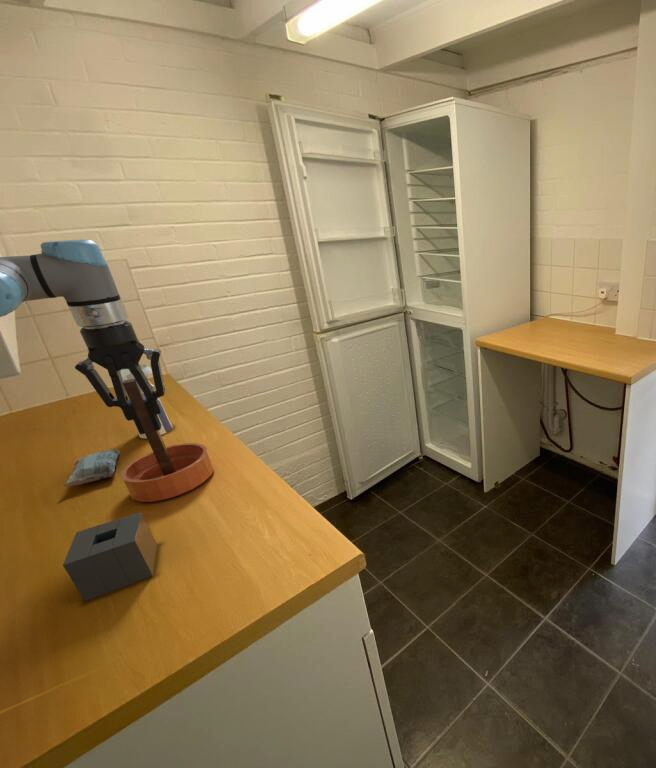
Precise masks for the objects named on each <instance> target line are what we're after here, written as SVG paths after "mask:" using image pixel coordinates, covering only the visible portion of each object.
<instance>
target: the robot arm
mask: <svg viewBox="0 0 656 768" xmlns="http://www.w3.org/2000/svg"><path fill="white" fill-rule="evenodd" d="M40 249H41V250H40V253H36V254H31V255H30V254H29V255H14V256H13V255H12V256H0V318H2V317H5V316H8V315H9V314H11V313H13V312H14V311H16V310H17V309H18V308H19V306H20V305H21V304H22V303H24V302H29V301H30V302H31V301H38V300H46V299H55V298H61V297H62V298H63V299H64V300H65V303H66V305H67V307H68V310H69V312H70V313H71V316H72V318H73V320H74V322H75V324H76V326H77V327H80V330H79V333H80V335H81V337H82V339H83V341H84V343H85V346H86V348H87V350H88V352H87V358H85V359H84V360H80V361H78V362H77V363H76V364H75V366H74V369H75V370H76V371H78V372H79V373H81V374H82V375H84V376H85V377H86V380H87V381H88V382H89V383H90V385H91V386H92V388H93V389H94V391H95V392H96V393H97V395H98V396H99V397H100V399H101V400H102V401H103V403H104V405H105V406H106V407H107V408H113V407H118V408H120V409H121V411H122V413H123V416H124V418H125V420H127V421H128V422H130V421H133V420H134V421H133V423H134V422H135V424H134V426H135V425H136V427H137V429H138V431H139V433H140V435H141V434H145V432H144V430H143V428H142V426H141V423H140V421H139V419H138V417H137V414H136V412H135V410H134V408H133V406H132V403H129V399H128V396H127V393H126V390H125V388H124V385H123V379H122V376H121V371H120V370H122V369H129V371H130V372H131V373H132V374H133V376H134V378H135V379H136V381H137V383H138V385H139V386H140V388H141V390H142V391H143V393H144V395H145V397H146V398H147V399H146V401H145V403H144V404H145V407H146V409H147V411H148V413H149V416H150V418H151V420H152V423H153V425H154V427H155V430H156V431H157V430H160V429H161V422H160V420H159V418H158V415H157V414H160V413H161V407H160V405H159V402H158V400H157V398H159V399H160V398H161V397H164V396H165V393H166V387H165V383H164V378H163V372H162V368H161V363H160V357H161V354H162V350H161V349H160V348H155V349H153V348H147V347H145V346H144V344H142V343H141V342H140V341H139V339H138V336H137V333H136V331H135V329H134V328H133V324H132V322H130V321H129V320H128V319H129V318H130V317H129V314H128V312H127V310H126V307H125V305H124V302H123V300H122V297H121V296H120V293H119V291H118V288H117V285H116V283H115V279H114V278H113V275H112V272H111V269H110V267H109V264H108V263H107V261H106V259H105V257H104V255H103V253H102V250H101V248H100V246H99V245H98V244H97V242H94V241H93V240H91V239H65V240H54V241H53V240H52V241H51V240H50V241H43V242H41V244H40ZM143 355H145V356H146V359H147V360H150V368H151V369H152V374H151V375H152V378H153V383H154V388H155V389H154V388H153V389H154V390H153V389H152V387H151V385H150V383H151V382H150V381H149V382H150V383H149V382H148V380H149V379H148V380H147V378H146V376H145V375H144V373H143V371H142V369H141V367H140V365H141V364H140V360H141V359H142V357H143ZM95 364H96V365H98V366H100V367H101V368H104V370H107V372H108V373H107V374H108V376H109V377H110V380H111V383H112V387H113V390H114V393H115V395H114V394H113V393H112V391H111V390H110V388H109V387H108V385H107V384H106V383H105V381H104V379H103V378H102V377H101V375H100V374H99V372H98V370H96V369H95V368H96V365H95ZM136 427H135V428H136ZM137 429H136V430H137Z"/></svg>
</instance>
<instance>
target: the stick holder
mask: <svg viewBox="0 0 656 768" xmlns="http://www.w3.org/2000/svg"><path fill="white" fill-rule="evenodd" d="M70 544H71V545H70V546H69V549H68V552H67V553H66V556H65V559H64V561H63V563H62V567H63V569H64V570H65V572H66V573H67V575H68V576H69V578H70V579H71V581H72V583H73V584H74V586H75V588H76V589H77V591H78V592H79V594H80V596H81V597H82V599H83V600H84V602H87V601H90V600H93V599H96V598H98V597H100V596H104V595H105V594H108V593H111V592H113V591H117V590H119V589H123V588H125V587H127V586H130V585H132V584H135V583H138V582H141V581H142V580H146V579H148V578H151V577H153V575H154V569H155V563H156V557H157V551H158V543H157V541H156V539H155V537H154V535H153V533H152V531H151V528H150V527H149V524H148V523H147V520H146V519H145V516H144V514H143V512H142V511H140V512H137V513H132V514H130V515H127V516H124V517H120V518H117V519H114V520H111V521H108V522H104V523H101V524H98V525H93V526H92V527H88V528H85V529H82V530H78V531H76V532H75V534H74V537H73V539H72V542H71V543H70Z"/></svg>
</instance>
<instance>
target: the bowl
mask: <svg viewBox="0 0 656 768" xmlns="http://www.w3.org/2000/svg"><path fill="white" fill-rule="evenodd" d="M166 448H167V451H168V453H169V455H170V458H171V460H172V462H173V465H174V467H175V469H176V472H174V473H172V474H169V475H166V476H164V475H163V473H162V471H161V468H160V466H159V464H158V462H157V460H156V457H155V455H154V453H153V451H150V452H148V453H146V454H144V455H142V456H139V457H138V458H136V459H135V460H132V461H131V462H130V463H128V464H127V465H126V466H125V467H124V468H123V469H122V471H121V474H120V478H121V480H122V482H123V484H124V487H125V489H126V490H127V492H128V494H129V497H130V498H131V499H132V500H133V501H137V502H139V503H153V502H158V501H164V500H168V499H171V498H174V497H177V496H180V495H183V494H185V493H187V492H189V491H192V490H193V489H195V488H197V487H199V486H200V485H202V484H203V483H205V481H206V480H207V479H209V478H210V477H211V476H212V474H213V473H214V469H215V466H214V462H213V460H212V457H211V455H210V453H209V450H208V448H207V447H206V446H205V445H204V444H202V443H198V442H184V443H177V444H172V445H168V446H166Z"/></svg>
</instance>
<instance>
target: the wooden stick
mask: <svg viewBox="0 0 656 768" xmlns="http://www.w3.org/2000/svg"><path fill="white" fill-rule="evenodd" d="M123 385H124V388H125V390H126V392H127V394H128V397H129V399H130V401H131V403H132V406H133V408H134V410H135V412H136V414H137V417H138V419H139V421H140V423H141V426H142V428H143V430H144V432H145V435H146V437H147V438H146V439H147V442H148V444H149V446H150V448H151V452H153V453H154V455H155V457H156V460H157V462H158V464H159V466H160V468H161V471H162V473H163V475H164V476H166V475H169V474H172V473H174V472H176V469H175V467H174V465H173V462H172V460H171V458H170V455H169V453H168V451H167V448H166V447H167V446H166V443H165V442H164V439H163V437H162V435H161V434H160V432H159V430H157V431H156V430H155V427H154V425H153V423H152V420H151V418H150V416H149V413H148V411H147V409H146V407H145V404H144V403H145V401H146V399H145V397H144V395H143V392H142V390H141V388H140V386H139V385H138V383H137V381H136V379H130V380H124V382H123Z"/></svg>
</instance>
